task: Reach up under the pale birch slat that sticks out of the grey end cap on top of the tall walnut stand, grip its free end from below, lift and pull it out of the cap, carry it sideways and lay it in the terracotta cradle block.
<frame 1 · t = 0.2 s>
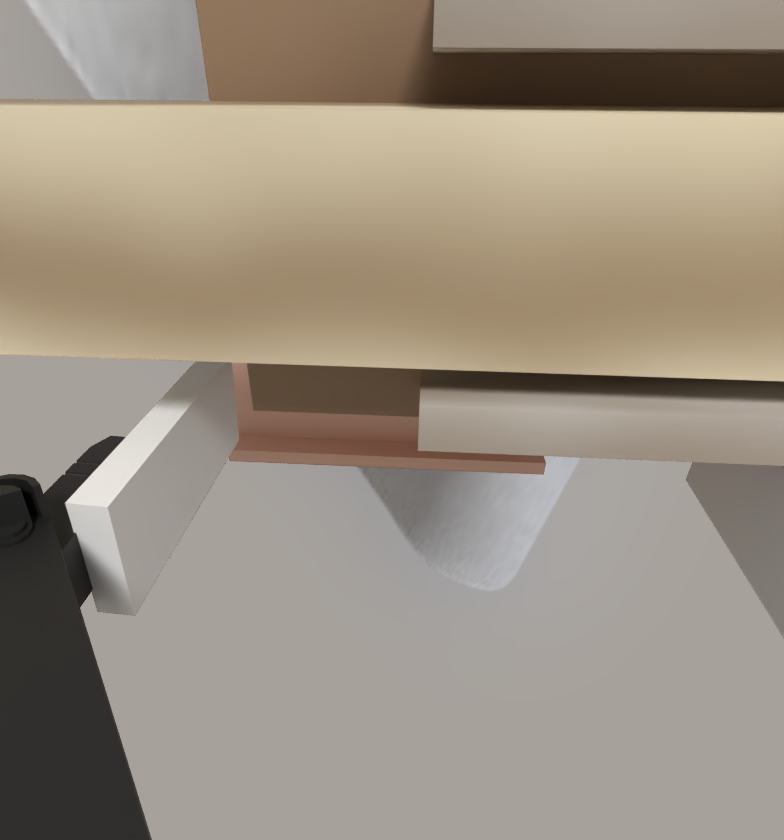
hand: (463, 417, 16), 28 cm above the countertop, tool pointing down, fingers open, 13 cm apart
cradle: (406, 257, 41), on the countertop
slat: (338, 218, 11), point 30 cm above the countertop, touching stand
stand: (478, 118, 36), on the countertop
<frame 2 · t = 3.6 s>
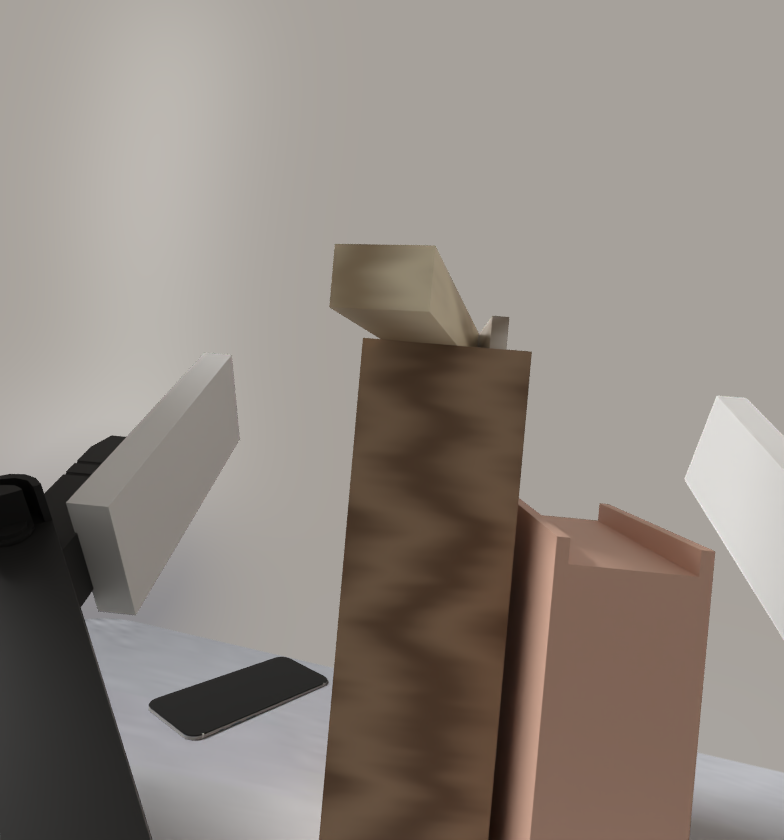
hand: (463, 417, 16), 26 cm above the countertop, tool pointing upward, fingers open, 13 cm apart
smartphone: (243, 699, 51), on the countertop
slat: (424, 346, 32), point 30 cm above the countertop, touching stand
stand: (400, 811, 37), on the countertop
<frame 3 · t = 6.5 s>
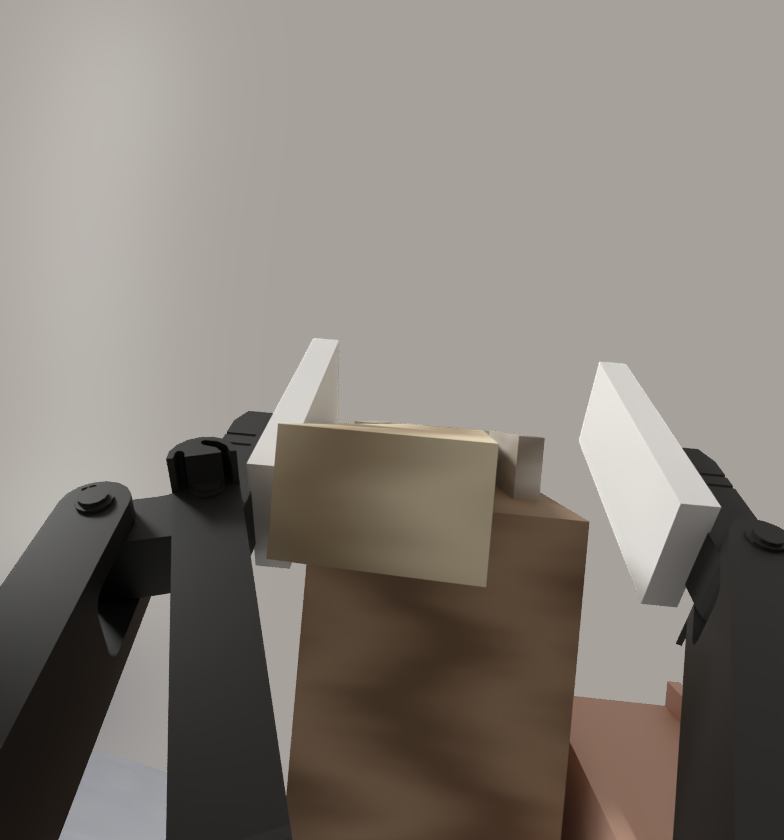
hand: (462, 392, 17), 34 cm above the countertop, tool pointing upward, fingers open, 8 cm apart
slat: (424, 498, 20), point 30 cm above the countertop, touching gripper, stand
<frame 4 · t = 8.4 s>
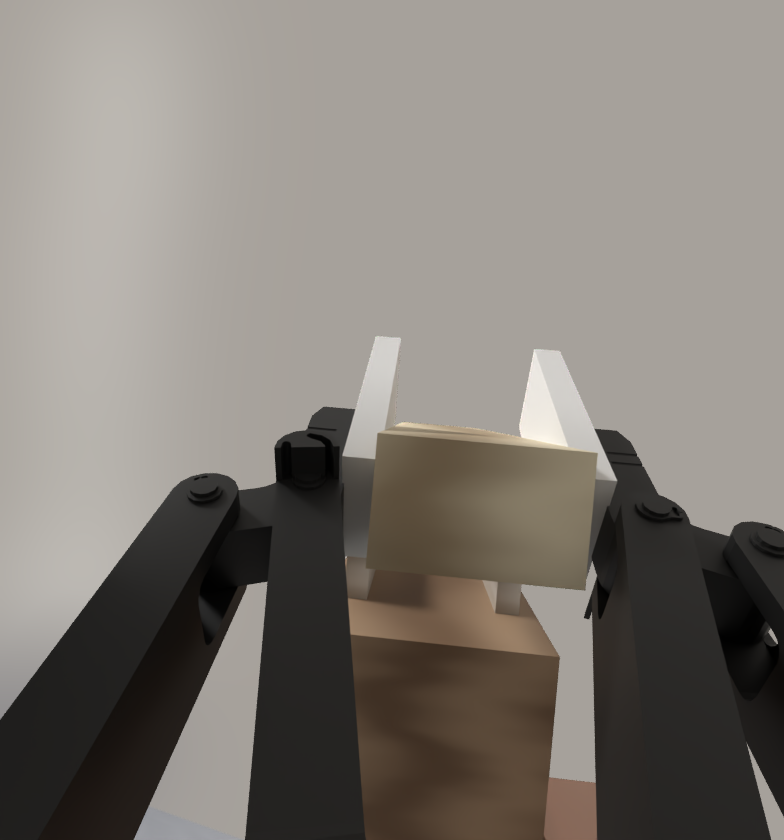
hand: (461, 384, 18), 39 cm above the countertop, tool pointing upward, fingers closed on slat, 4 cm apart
slat: (445, 498, 21), point 35 cm above the countertop, touching gripper
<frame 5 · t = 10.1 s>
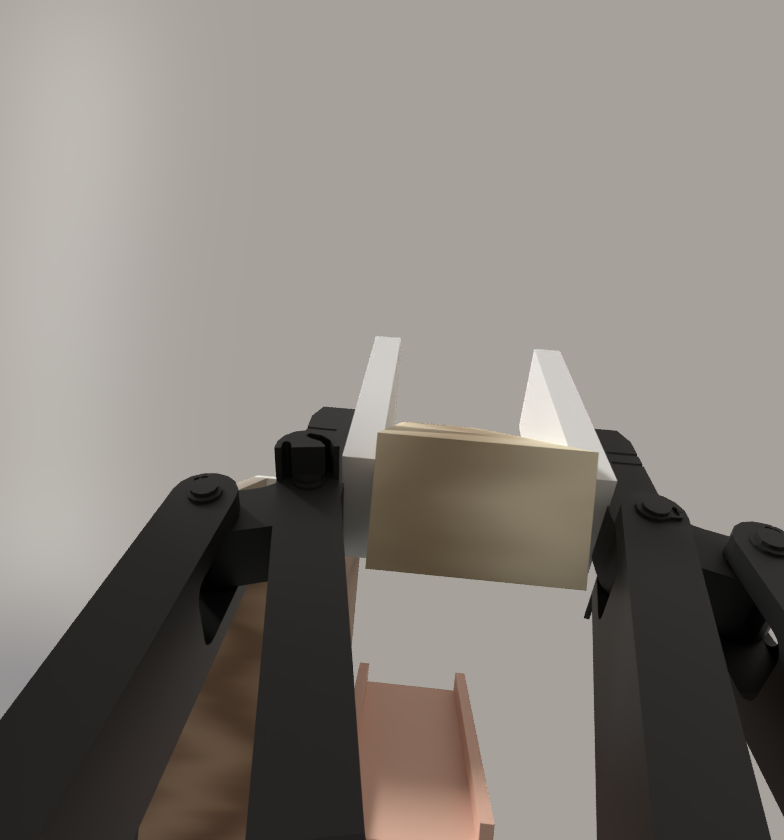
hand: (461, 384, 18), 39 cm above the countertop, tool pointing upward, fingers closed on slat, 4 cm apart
slat: (445, 498, 21), point 35 cm above the countertop, touching gripper
when the fingers open (25 cm above the countertop, at t = 13.5 s): slat drops 2 cm, resting on cradle.
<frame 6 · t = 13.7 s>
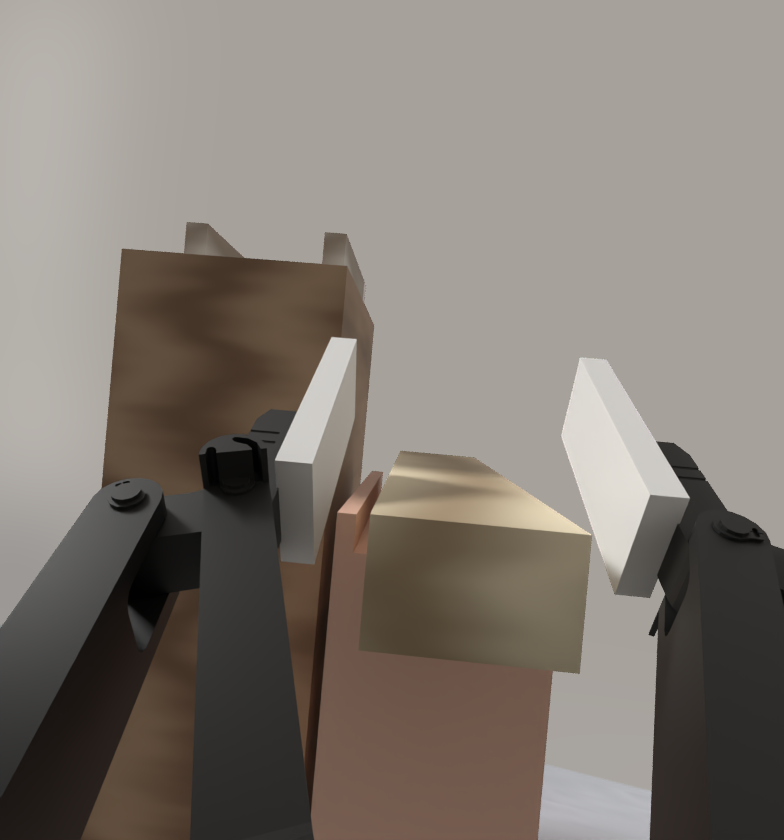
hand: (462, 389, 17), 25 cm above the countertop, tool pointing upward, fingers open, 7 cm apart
slat: (441, 540, 20), point 20 cm above the countertop, touching cradle
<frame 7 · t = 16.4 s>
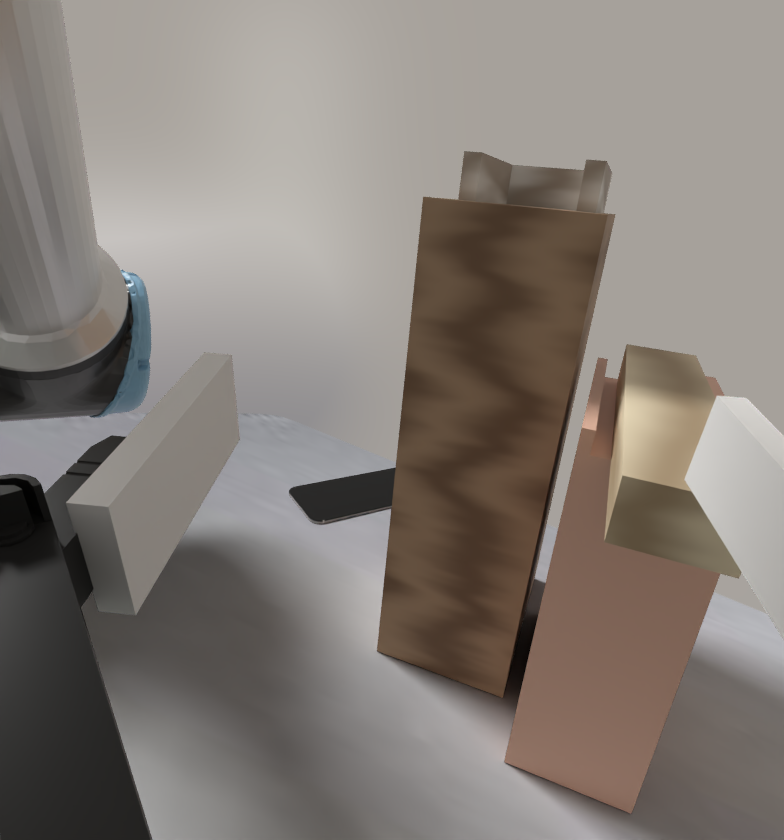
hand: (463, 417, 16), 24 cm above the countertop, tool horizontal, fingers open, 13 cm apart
cradle: (576, 694, 38), on the countertop
smartphone: (364, 497, 61), on the countertop
slat: (656, 445, 27), point 20 cm above the countertop, touching cradle
stand: (464, 610, 45), on the countertop
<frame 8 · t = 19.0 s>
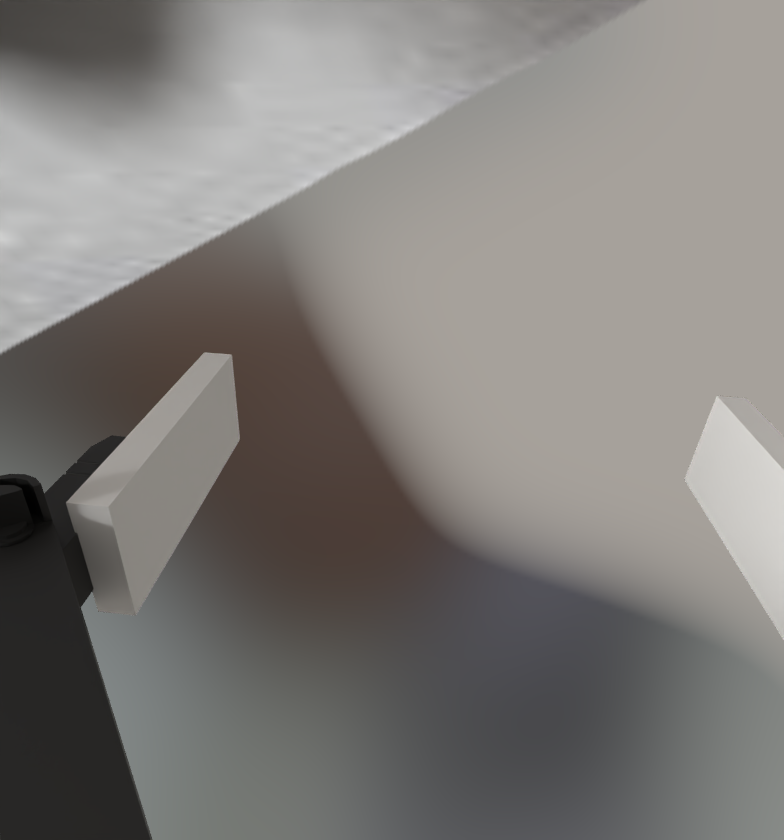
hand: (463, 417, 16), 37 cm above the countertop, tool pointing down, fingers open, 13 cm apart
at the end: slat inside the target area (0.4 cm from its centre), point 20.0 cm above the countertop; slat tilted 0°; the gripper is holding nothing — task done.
